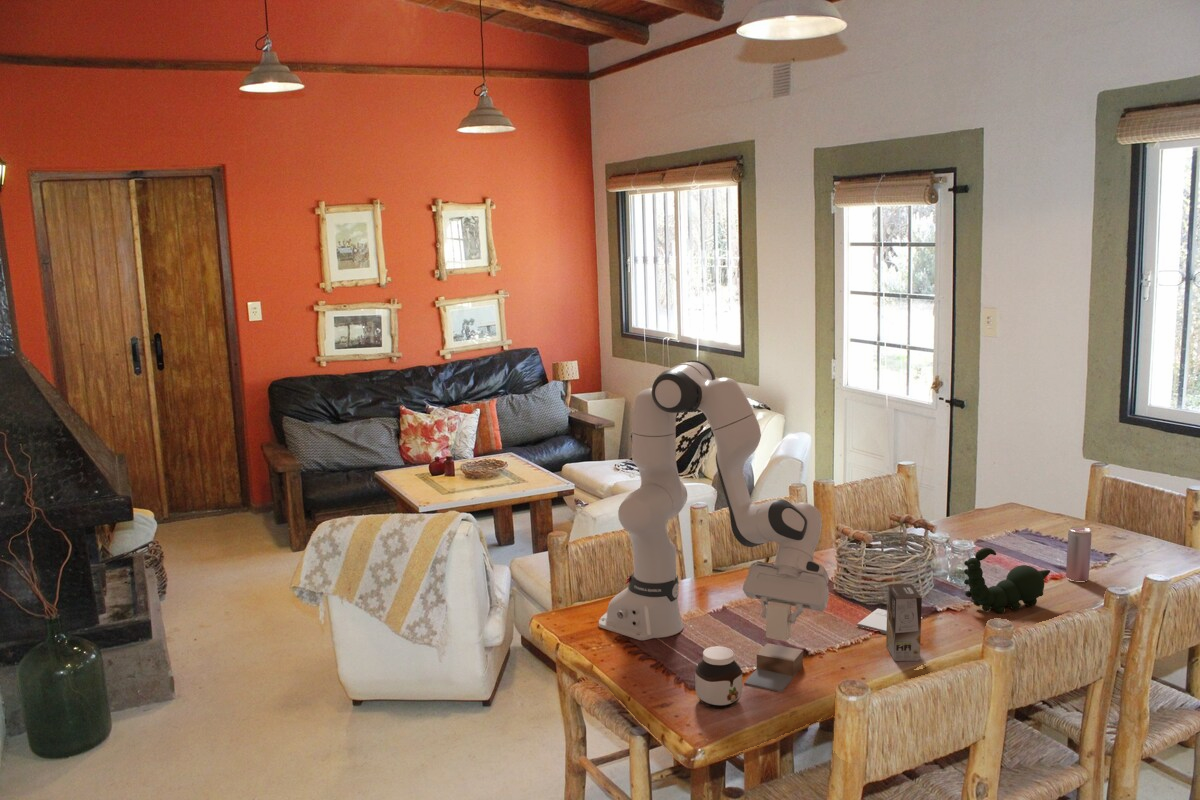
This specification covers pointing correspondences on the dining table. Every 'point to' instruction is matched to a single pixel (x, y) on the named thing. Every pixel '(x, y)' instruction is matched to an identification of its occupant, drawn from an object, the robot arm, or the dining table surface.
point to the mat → (768, 680)
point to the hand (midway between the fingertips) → (777, 619)
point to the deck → (780, 659)
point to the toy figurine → (1003, 585)
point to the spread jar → (718, 678)
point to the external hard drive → (875, 621)
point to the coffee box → (903, 622)
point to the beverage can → (1078, 553)
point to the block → (778, 621)
